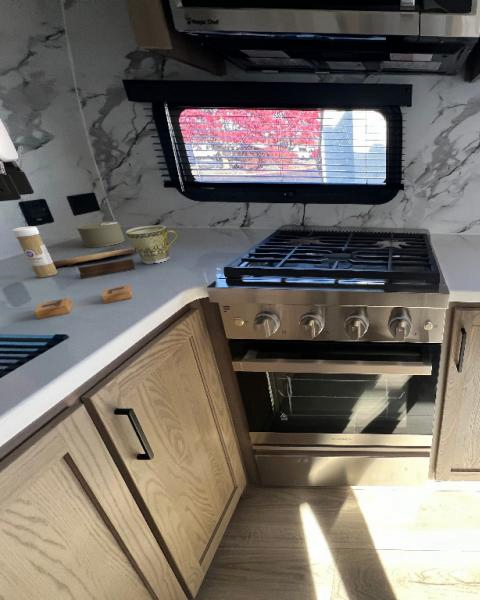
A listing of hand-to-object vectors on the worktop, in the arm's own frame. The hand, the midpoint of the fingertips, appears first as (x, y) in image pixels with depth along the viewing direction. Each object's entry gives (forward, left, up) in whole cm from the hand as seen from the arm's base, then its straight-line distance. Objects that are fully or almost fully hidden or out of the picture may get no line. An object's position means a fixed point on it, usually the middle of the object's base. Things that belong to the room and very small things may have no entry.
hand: (16, 197), depth 59 cm
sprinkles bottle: (-10, +38, -25) cm, 47 cm away
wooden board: (-1, +48, -25) cm, 54 cm away
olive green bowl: (+1, +70, -25) cm, 75 cm away
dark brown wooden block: (+4, +30, -25) cm, 39 cm away
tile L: (+7, +7, -25) cm, 27 cm away
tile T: (-4, +6, -25) cm, 26 cm away
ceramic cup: (+17, +33, -25) cm, 45 cm away
